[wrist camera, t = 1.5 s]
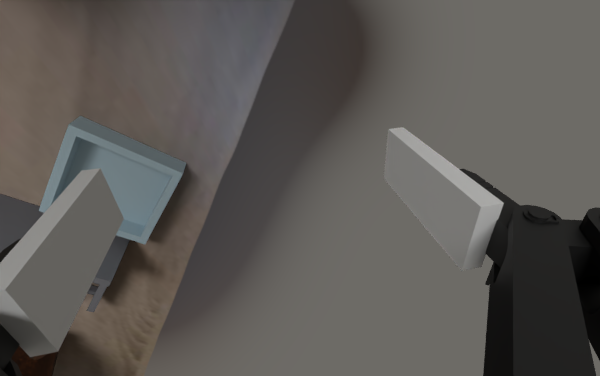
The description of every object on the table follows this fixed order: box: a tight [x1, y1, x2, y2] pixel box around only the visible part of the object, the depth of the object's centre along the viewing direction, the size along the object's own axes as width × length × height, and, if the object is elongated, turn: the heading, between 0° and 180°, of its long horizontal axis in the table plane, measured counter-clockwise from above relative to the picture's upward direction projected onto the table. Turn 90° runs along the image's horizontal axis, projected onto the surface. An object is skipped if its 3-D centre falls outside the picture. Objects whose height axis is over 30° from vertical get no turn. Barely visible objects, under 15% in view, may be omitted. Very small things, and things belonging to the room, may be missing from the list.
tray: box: [39, 116, 186, 244], centre depth 40 cm, size 13×13×3 cm
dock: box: [0, 194, 129, 312], centre depth 40 cm, size 21×13×9 cm, turn 56°
